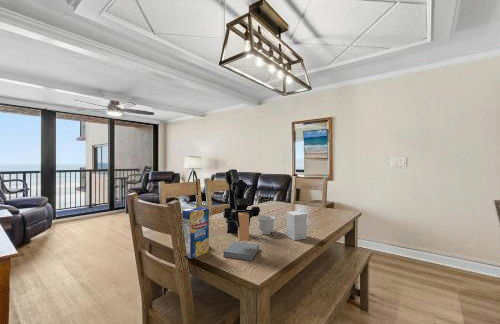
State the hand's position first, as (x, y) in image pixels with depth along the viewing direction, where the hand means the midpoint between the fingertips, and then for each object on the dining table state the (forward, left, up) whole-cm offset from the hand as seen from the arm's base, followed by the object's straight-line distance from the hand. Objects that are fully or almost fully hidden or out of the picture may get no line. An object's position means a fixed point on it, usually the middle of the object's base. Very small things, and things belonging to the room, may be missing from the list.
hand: (243, 226), depth 114 cm
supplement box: (+30, +26, -14) cm, 42 cm away
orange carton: (0, +1, -7) cm, 7 cm away
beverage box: (-24, -1, -14) cm, 28 cm away
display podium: (-1, +1, -13) cm, 14 cm away
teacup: (+12, +35, -14) cm, 40 cm away
